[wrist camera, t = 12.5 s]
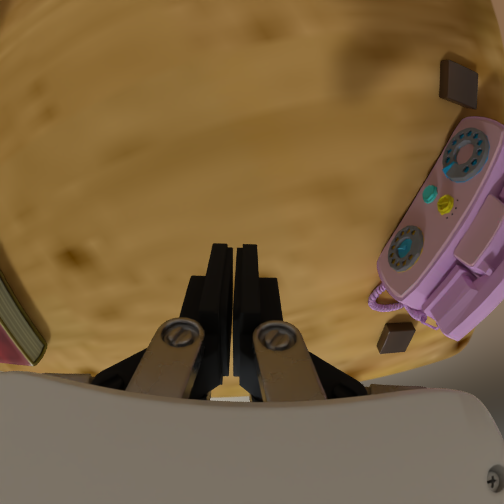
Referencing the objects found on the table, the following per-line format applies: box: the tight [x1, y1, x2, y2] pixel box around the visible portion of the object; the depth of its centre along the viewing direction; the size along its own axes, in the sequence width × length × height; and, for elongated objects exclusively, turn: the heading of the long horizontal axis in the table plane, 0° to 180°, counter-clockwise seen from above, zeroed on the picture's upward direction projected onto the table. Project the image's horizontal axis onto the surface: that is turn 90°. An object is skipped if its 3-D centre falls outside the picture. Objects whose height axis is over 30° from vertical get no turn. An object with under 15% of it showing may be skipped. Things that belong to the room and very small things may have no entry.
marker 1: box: [377, 322, 416, 354], centre depth 25 cm, size 3×3×1 cm
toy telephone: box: [368, 116, 504, 341], centre depth 15 cm, size 18×6×10 cm, turn 154°
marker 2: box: [439, 60, 478, 109], centre depth 14 cm, size 3×3×1 cm
